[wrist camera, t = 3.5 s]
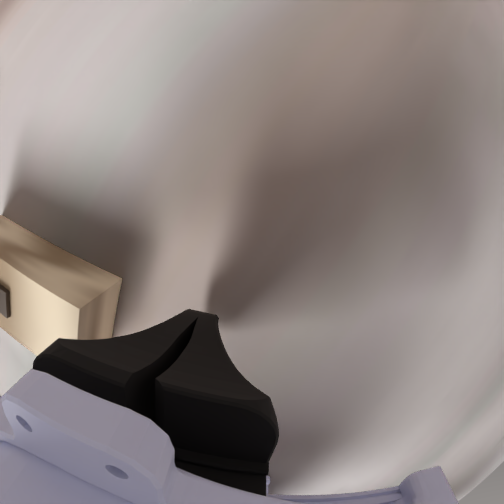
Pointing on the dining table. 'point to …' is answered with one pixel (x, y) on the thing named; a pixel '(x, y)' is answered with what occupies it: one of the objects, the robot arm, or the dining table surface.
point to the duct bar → (51, 292)
